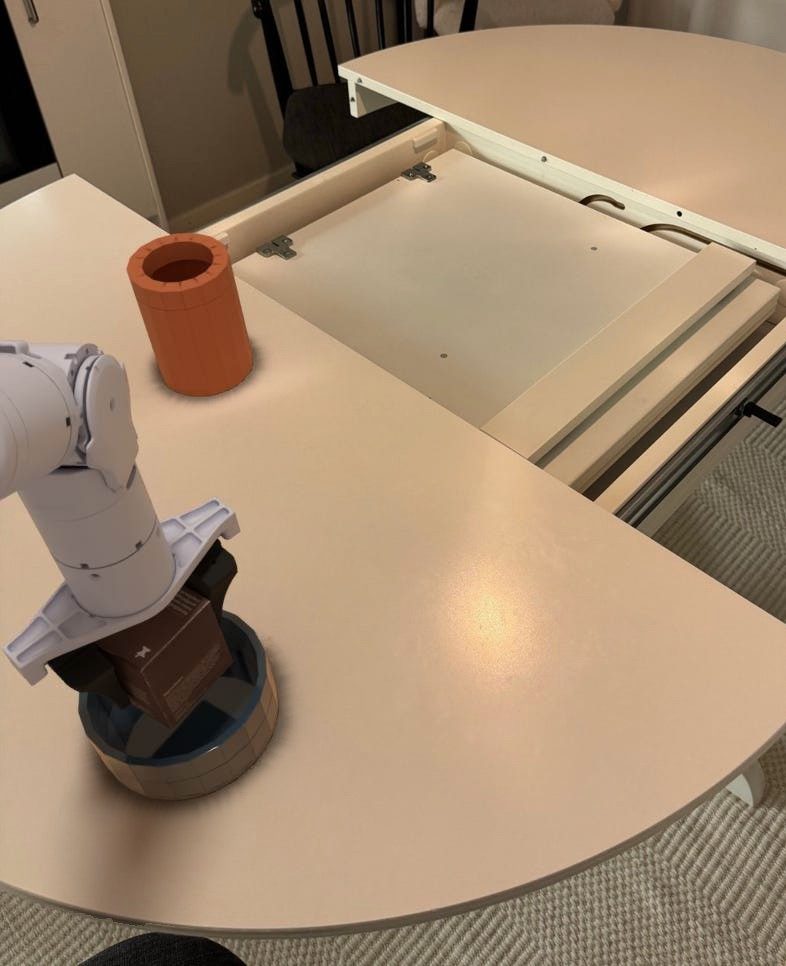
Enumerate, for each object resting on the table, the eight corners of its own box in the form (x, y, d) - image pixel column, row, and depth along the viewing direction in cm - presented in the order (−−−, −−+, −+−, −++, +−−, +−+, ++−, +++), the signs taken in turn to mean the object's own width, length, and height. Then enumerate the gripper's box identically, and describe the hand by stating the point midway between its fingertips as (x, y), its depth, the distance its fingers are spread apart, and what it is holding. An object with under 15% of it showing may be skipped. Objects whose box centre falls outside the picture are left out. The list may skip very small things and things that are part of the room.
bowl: (172, 838, 62) (151, 805, 58) (66, 723, 67) (41, 687, 63) (313, 709, 68) (304, 672, 64) (206, 614, 73) (191, 575, 69)
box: (236, 663, 64) (213, 600, 58) (171, 734, 60) (140, 673, 55) (170, 622, 66) (141, 557, 61) (104, 688, 63) (67, 625, 57)
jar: (199, 409, 88) (166, 304, 79) (143, 368, 92) (107, 263, 83) (271, 363, 92) (248, 258, 83) (215, 325, 96) (187, 221, 87)
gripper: (167, 421, 57) (215, 560, 67) (-63, 569, 50) (30, 699, 60) (243, 479, 54) (281, 615, 64) (9, 646, 47) (94, 769, 57)
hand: (164, 660), depth 62 cm, fingers closed on box, 6 cm apart
